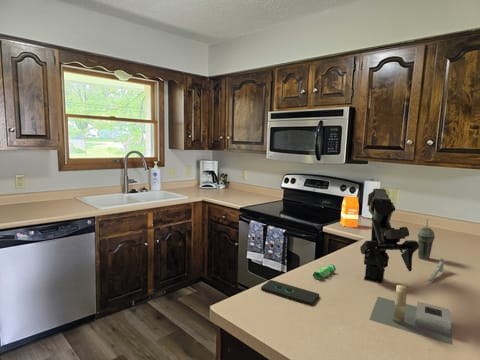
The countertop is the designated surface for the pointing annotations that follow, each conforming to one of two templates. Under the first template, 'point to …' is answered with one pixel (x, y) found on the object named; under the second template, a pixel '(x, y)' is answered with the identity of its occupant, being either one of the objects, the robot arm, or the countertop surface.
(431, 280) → the caliper
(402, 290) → the pin
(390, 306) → the mat
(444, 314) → the square peg hole block
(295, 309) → the countertop surface
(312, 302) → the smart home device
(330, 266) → the candy
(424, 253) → the beverage cup
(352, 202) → the orange juice
